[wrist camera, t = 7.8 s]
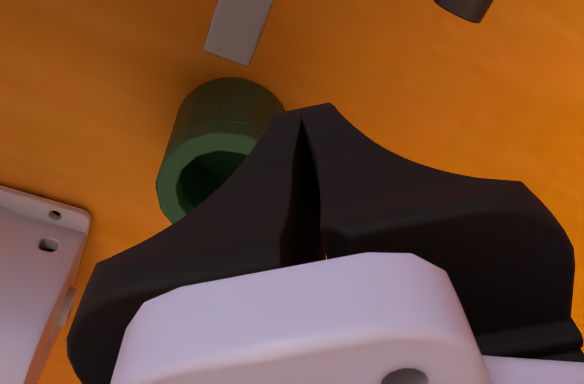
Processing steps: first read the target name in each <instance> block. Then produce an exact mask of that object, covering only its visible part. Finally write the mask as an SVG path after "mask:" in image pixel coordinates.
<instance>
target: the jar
mask: <svg viewBox="0 0 584 384" xmlns="http://www.w3.org/2000/svg"><path fill="white" fill-rule="evenodd" d="M281 112H285V110H284V108H283V106H282V105H281V103H280V102H279V101H278V99H277V98H276V97H275V96H274V95H273V94H272V93H271V92H270V91H268V90H267V89H266V88H264V87H262V86H261V85H259V84H256V83H254V82H252V81H248V80H245V79H239V78H221V79H216V80H212V81H210V82H207V83H205V84H203V85H201V86H199V87H198V88H196V89H195V90H193V91H192V92H191V93H190V94H189V95H188V96H187V98H186V99H185V100H184V102H183V103H182V104H181V106H180V108H179V111H178V114H177V118H176V121H175V124H174V127H173V130H172V133H171V136H170V139H169V142H168V145H167V148H166V152H165V155H164V158H163V161H162V164H161V167H160V170H159V173H158V176H157V180H156V186H155V187H156V191H157V195H158V200H159V204H160V208H161V210H162V212H163V213H164V215H165V216H166V217H167V218H168V219H169V220H170V222H171V223H172V224H174V223H175V222H177V221H178V220H180V219H181V218H183V217H184V216H185V215H187V214H188V213H189V212H191V211H192V210H193V209H194V208H196V207H197V206H198V205H200V204H201V203H202V202H204V201H205V200H206V199H207V198H209V197H210V196H211V195H212V194H213V193H214V192H215V191H216V190H217V189H218V188H219V187H221V186H222V185H223V184H224V183H225V182H226V181H227V180H228V178H229V177H230V176H231V175H232V174H233V173H234V172H235V171H236V169H237V168H238V167H239V166H240V164H241V163H242V162H243V161H244V159H245V158H246V157H247V156H248V154H249V153H250V152H251V150H252V149H253V147H254V146H255V144H256V143H257V141H258V140H259V138H260V137H261V135H262V134H263V132H264V130H265V129H266V127H267V126H268V124H269V122H270V121H271V119H272V118H273V116H274V115H275V114H277V113H281Z"/></svg>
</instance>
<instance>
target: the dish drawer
mask: <svg viewBox="0 0 584 384" xmlns="http://www.w3.org/2000/svg"><path fill="white" fill-rule="evenodd" d="M273 2H274V0H218V1H217V5H216V8H215V11H214V15H213V18H212V21H211V25H210V28H209V31H208V35H207V38H206V41H205V44H204V48H203V49H204V51H206V52H208V53H211V54H214V55H216V56H219V57H222V58H224V59H227V60H230V61H232V62H235V63H238V64H240V65H243V66H246V67H248V66H249V65H250V62H251V60H252V57H253V55H254V52H255V49H256V47H257V44H258V42H259V39H260V36H261V34H262V31H263V28H264V26H265V23H266V21H267V18H268V15H269V13H270V10H271V8H272V5H273ZM434 2H435V3H436V4H437V5H439V6H440V7H442V8H443V9H445V10H447V11H448V12H450V13H452V14H454V15H456V16H458V17H460V18H462V19H465V20H467V21H470V22H473V23H480V22H481V21H482V19H483V17H484V15H485V14H486V12H487V10H488V9H489V7H490V5H491V4H492V2H493V0H434Z"/></svg>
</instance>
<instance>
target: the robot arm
mask: <svg viewBox="0 0 584 384" xmlns="http://www.w3.org/2000/svg"><path fill="white" fill-rule="evenodd" d="M52 211H57V212H59V213H60V214H61V215H56V214H54V213H53V212H52ZM90 224H91V215H90V214H89V213H88V212H87V211H86V210H84V209H81V208H77V207H74V206H70V205H67V204H64V203H60V202H57V201H53V200H50V199H46V198H43V197H39V196H36V195H33V194H29V193H26V192H22V191H19V190H15V189H12V188H8V187H5V186H2V185H0V384H38V381H39V379H40V377H41V374H42V372H43V370H44V367H45V365H46V362H47V360H48V358H49V355H50V353H51V350H52V348H53V346H54V343H55V341H56V338H57V336H58V334H59V331H60V330H61V329H62V327H65V326H66V324H67V322H68V319H69V317H70V314H71V311H72V309H73V306H74V303H75V300H76V296H77V293H78V288H75V287H74V284H75V280H76V277H77V273H78V269H79V265H80V262H81V258H82V254H83V250H84V247H85V243H86V239H87V235H88V232H89V228H90ZM326 256H327V260H326ZM574 274H575V259H574V248H573V246H572V244H571V242H570V240H569V238H568V236H567V234H566V232H565V230H564V229H563V228H562V226H561V225H560V224H559V222H558V221H557V219H556V218H555V217H554V215H553V214H552V213H551V212H550V211H549V210H548V208H547V207H546V206H545V205H544V204H543V203H542V202H541V201H540V200H539V199H538V198H537V197H536V196H535V195H534V194H533V193H532V192H531V191H530V190H529V189H528V188H527V187H526V186H525V185H524V183H522V182H520V181H508V180H496V179H484V178H476V177H470V176H464V175H459V174H454V173H449V172H445V171H441V170H437V169H434V168H431V167H428V166H425V165H421V164H418V163H415V162H413V161H410V160H408V159H405V158H403V157H401V156H399V155H397V154H395V153H393V152H391V151H388V150H387V149H385V148H383V147H381V146H380V145H378V144H377V143H375V142H374V141H372V140H371V139H369V138H368V137H367V136H365V135H364V134H363V133H362V132H360V131H359V130H358V129H357V128H355V127H354V126H353V125H352V124H351V123H350V122H349V121H348V120H347V119H345V118H344V117H343V116H342V115H341V113H340V112H339V111H338V110H337V109H336V108H335V106H333V105H332V104H331V103H324V104H319V105H315V106H310V107H305V108H300V109H296V110H291V111H286V112H281V113H277V114H275V115H274V116H273V118H272V119H271V121H270V122H269V124H268V126H267V127H266V129H265V130H264V132H263V134H262V135H261V137H260V138H259V140H258V141H257V143H256V144H255V146H254V147H253V149H252V150H251V152H250V153H249V154H248V156H247V157H246V158H245V159H244V161H243V162H242V163H241V164H240V166H239V167H238V168H237V169H236V171H235V172H234V173H233V174H232V175H231V176H230V177H229V178H228V180H227V181H226V182H225V183H224V184H223V185H222V186H221V187H219V188H218V189H217V190H216V191H215V192H214V193H213V194H212V195H211V196H210V197H209V198H207V199H206V200H205V201H204V202H202V203H201V204H200V205H198V206H197V207H196V208H194V209H193V210H192V211H191V212H189V213H188V214H187V215H185V216H184V217H183V218H181V219H180V220H178V221H177V222H175V223H174V224H172V225H171V226H169V227H168V228H166V229H164V230H163V231H161V232H159V233H157V234H156V235H154V236H152V237H151V238H149V239H147V240H145V241H143V242H141V243H140V244H138V245H135V246H133V247H131V248H129V249H127V250H125V251H123V252H121V253H118V254H116V255H114V256H112V257H110V258H108V259H106V260H103V261H101V262H99V263H97V264H96V266H95V268H94V270H93V272H92V275H91V277H90V279H89V281H88V283H87V286H86V288H85V291H84V294H83V296H82V299H81V301H80V304H79V307H78V309H77V312H76V315H75V317H74V320H73V323H72V325H71V328H70V331H69V333H68V336H67V356H68V358H69V361H70V363H71V365H72V367H73V370H74V372H75V374H76V375H77V377H78V378H79V380H80V381H81V383H82V384H584V354H583V352H582V350H581V349H580V348H581V347H583V338H582V334H581V333H580V331H579V329H578V328H577V326H576V324H575V323H574V321H573V320H572V318H571V307H572V296H573V285H574Z"/></svg>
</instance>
